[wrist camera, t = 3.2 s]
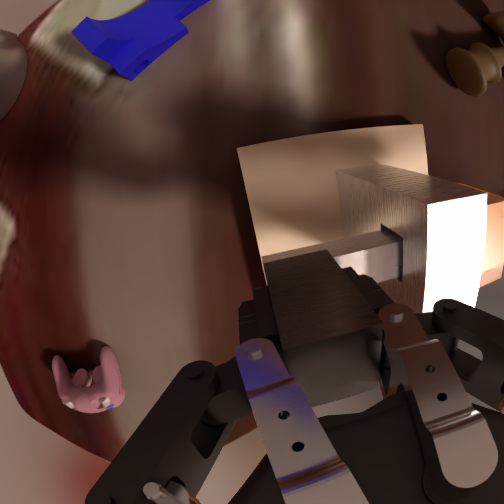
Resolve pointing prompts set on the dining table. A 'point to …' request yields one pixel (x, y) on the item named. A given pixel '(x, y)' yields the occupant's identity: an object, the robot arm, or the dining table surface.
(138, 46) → the cable clip
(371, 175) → the stand
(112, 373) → the video game controller
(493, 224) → the block
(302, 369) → the shaft
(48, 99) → the dining table surface
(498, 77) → the kendama
